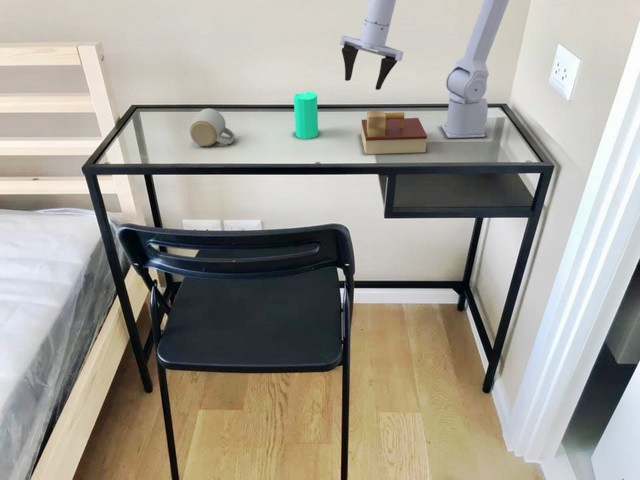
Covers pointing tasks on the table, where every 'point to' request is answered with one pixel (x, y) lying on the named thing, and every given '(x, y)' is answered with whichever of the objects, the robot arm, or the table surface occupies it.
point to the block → (376, 123)
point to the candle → (306, 115)
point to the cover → (398, 128)
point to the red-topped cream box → (393, 145)
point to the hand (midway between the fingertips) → (362, 84)
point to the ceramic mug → (210, 128)
